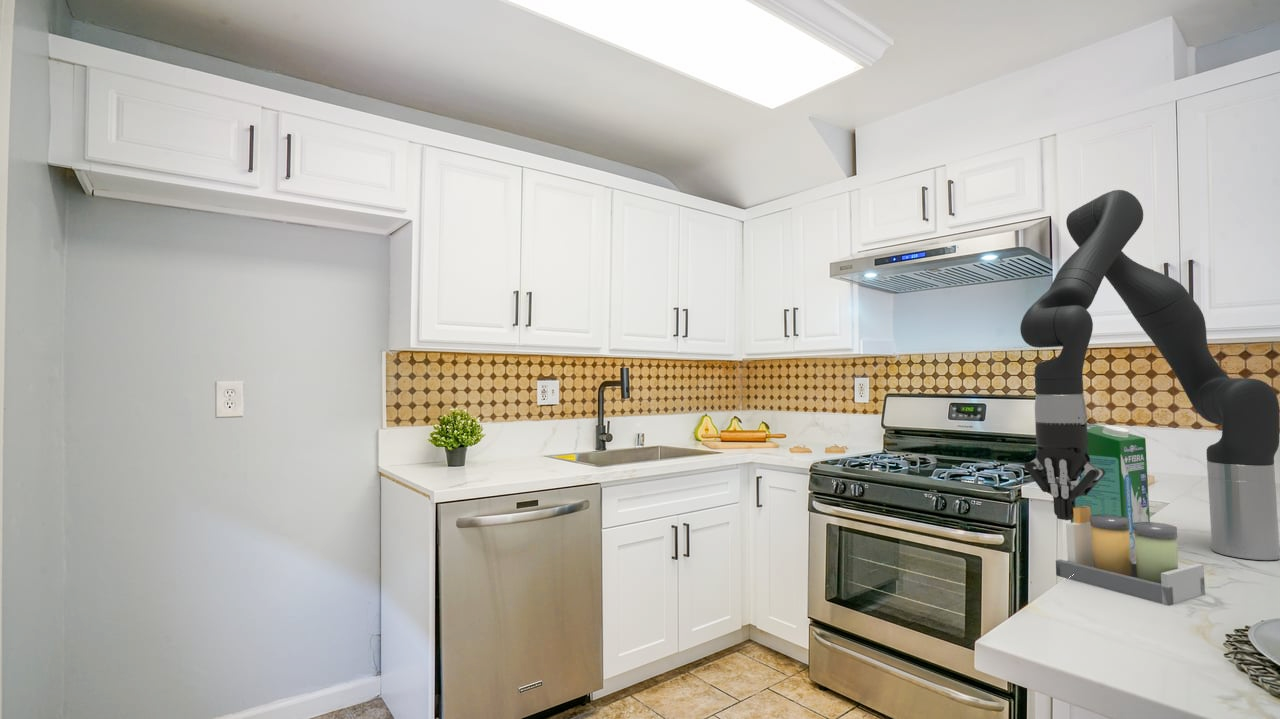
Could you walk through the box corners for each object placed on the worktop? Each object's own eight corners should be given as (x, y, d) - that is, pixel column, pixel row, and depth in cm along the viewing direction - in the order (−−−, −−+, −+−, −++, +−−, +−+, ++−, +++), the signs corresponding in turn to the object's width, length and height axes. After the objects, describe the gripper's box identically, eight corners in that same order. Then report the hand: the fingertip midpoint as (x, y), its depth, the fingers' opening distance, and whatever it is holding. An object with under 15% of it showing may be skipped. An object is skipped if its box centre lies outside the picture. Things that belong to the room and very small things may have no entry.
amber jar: (1105, 573, 105) (1101, 512, 105) (1140, 581, 100) (1136, 518, 101) (1087, 578, 103) (1082, 516, 103) (1122, 587, 98) (1117, 522, 98)
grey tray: (1092, 571, 109) (1090, 541, 109) (1205, 599, 94) (1203, 564, 95) (1056, 580, 105) (1055, 549, 105) (1169, 610, 90) (1167, 574, 90)
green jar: (1148, 584, 99) (1144, 520, 100) (1187, 594, 94) (1183, 526, 95) (1129, 589, 97) (1125, 524, 97) (1169, 600, 92) (1165, 531, 93)
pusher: (1093, 567, 107) (1090, 504, 108) (1101, 569, 106) (1097, 505, 107) (1068, 573, 104) (1065, 508, 105) (1076, 575, 103) (1072, 510, 104)
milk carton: (1126, 568, 110) (1119, 427, 111) (1071, 556, 118) (1065, 425, 119) (1152, 561, 114) (1145, 425, 115) (1097, 549, 122) (1091, 422, 123)
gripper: (1010, 419, 113) (1014, 514, 113) (1087, 422, 101) (1092, 529, 101) (1036, 417, 117) (1041, 510, 116) (1114, 420, 105) (1120, 524, 104)
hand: (1065, 519), depth 108 cm, fingers closed
